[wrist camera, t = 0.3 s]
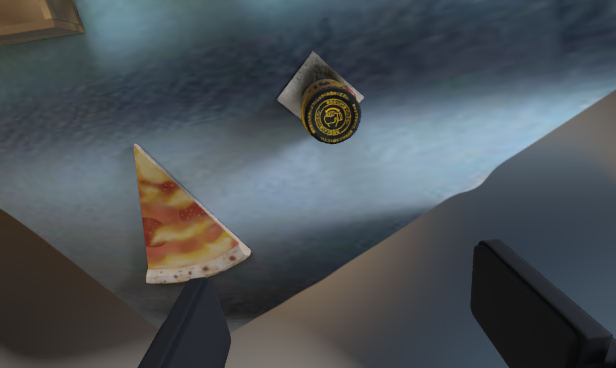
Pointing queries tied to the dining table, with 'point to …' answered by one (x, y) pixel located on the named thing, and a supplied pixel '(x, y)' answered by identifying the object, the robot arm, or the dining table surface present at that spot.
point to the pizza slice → (180, 229)
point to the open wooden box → (37, 20)
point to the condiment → (323, 101)
